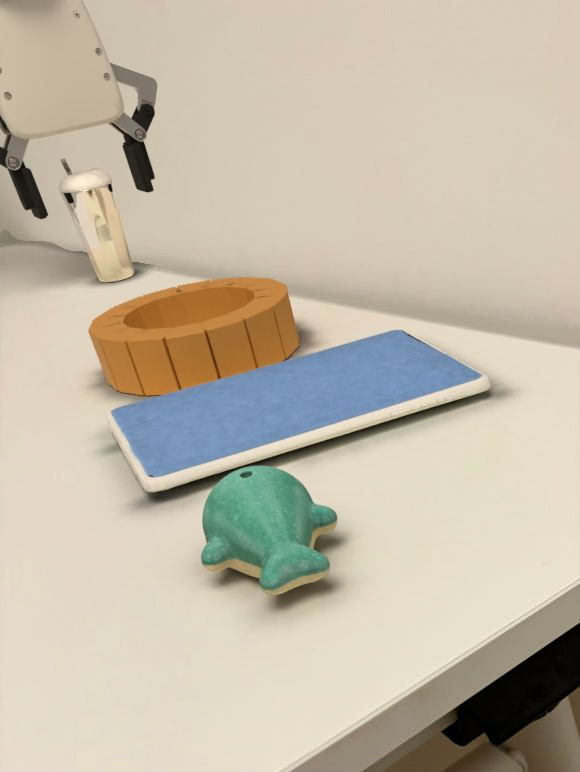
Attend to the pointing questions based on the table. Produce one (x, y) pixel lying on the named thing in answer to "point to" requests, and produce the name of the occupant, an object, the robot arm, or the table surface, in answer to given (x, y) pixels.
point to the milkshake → (97, 222)
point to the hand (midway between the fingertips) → (94, 203)
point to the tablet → (286, 407)
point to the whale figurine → (265, 528)
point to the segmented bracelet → (194, 334)
